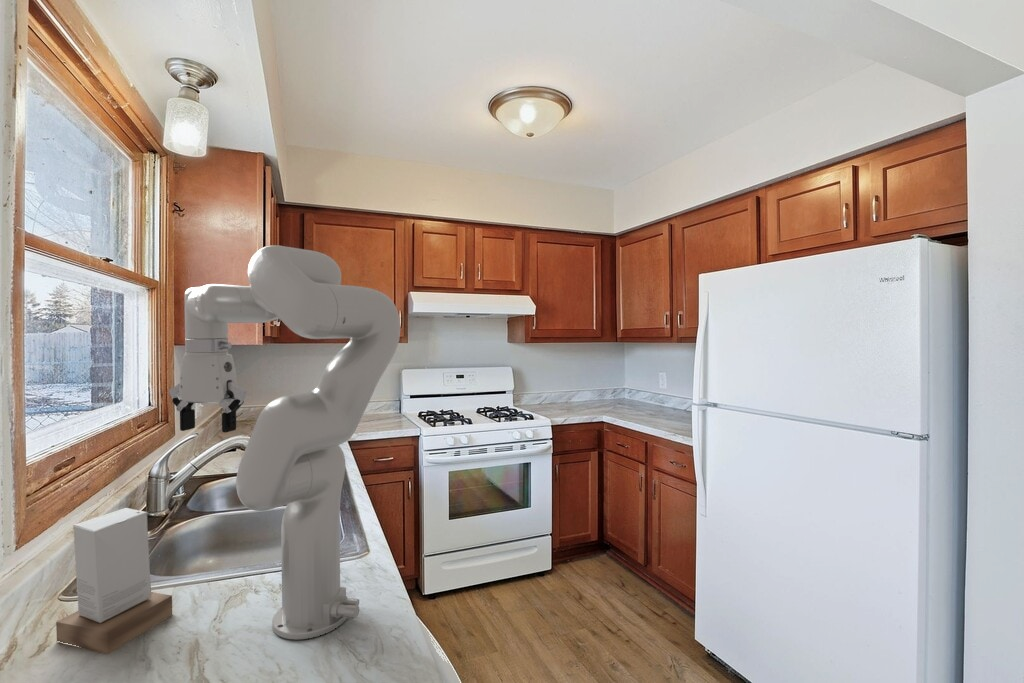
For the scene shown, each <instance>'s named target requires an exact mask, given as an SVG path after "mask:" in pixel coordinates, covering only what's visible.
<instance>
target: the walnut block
mask: <svg viewBox="0 0 1024 683" xmlns="http://www.w3.org/2000/svg"><path fill="white" fill-rule="evenodd" d="M172 616H173V595H171V594H165V593H159V592H152V591H151V598H149V599H147V600H145V601H143V602H141V603H139V604H137V605H135V606H133V607H131V608H129V609H127V610H125V611H123V612H121V613H119V614H117V615H115V616H113V617H111V618H109V619H107V620H105V621H103V622H102V623H99V622H96V621H93V620H91V619H88V618H85V617H82V616H80V615H79V614H78V610H77V611H75V612H73V613H71V614H69V615H67V616H65V617H63V618H61V619H59V620H56V623H55V624H56V630H55V631H56V642H57V641H60V642H63V643H68V644H72V645H76V646H79V647H81V648H80V649H83V648H84V649H83V650H88V651H92V652H97V653H102V654H106V655H109V654H110V653H113V652H114V651H116V650H117V649H119V648H120V647H122V646H123V645H125V644H127V643H128V642H130V641H132V640H133V639H135V638H136V637H137V638H138V636H140V635H142V634H144V633H146V632H147V631H149V630H150V629H151V628H153V627H155V626H156V625H158V624H160V623H161V622H163V621H165V620H166V619H168V618H170V617H172Z"/></svg>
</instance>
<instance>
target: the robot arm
mask: <svg viewBox="0 0 1024 683" xmlns="http://www.w3.org/2000/svg"><path fill="white" fill-rule="evenodd" d="M247 277H248V282H249V286H247V285H246V286H245V285H237V284H236V285H234V284H222V283H221V284H219V283H218V284H217V283H210V284H209V283H208V284H205V285H202V286H195V287H189V288H187V289H186V290H185V292H184V333H185V334H184V338H185V340H184V343H185V344H184V345H185V346H184V349H185V350H184V351H185V352H184V354H183V355H182V356H183V357H182V361H181V366H180V374H179V383H177V385H174V386H173V387H171V388H169V389H168V393H169V395H170V397H171V399H172V403H173V405H174V406H176V411H177V412H179V429H180V431H182V432H185V431H188V430H193V429H195V427H196V410H195V409H194V408H193V407H194V406H195V405H196V404H219V406H220V407H221V409H222V410H223V411H224V412H222V413H221V432H222V433H225V434H226V433H229V432H232V431H236V429H237V412H238V411H239V410H240V408H241V406H243V404H244V402H245V399H246V396H247V395H248V390H247V389H245V388H243V387H241V385H238V380H237V372H236V367H235V366H236V364H235V362H234V361H235V360H234V357H233V355H232V353H229V350H230V349H232V342H229V339H228V338H229V324H262V323H268V322H272V321H276V320H280V321H282V323H283V324H284V325H285V326H286V327H287V328H288V329H289V330H290V331H291V332H293V333H294V334H296V335H298V336H299V337H302V338H304V339H311V340H322V339H323V340H327V339H329V340H330V339H334V340H336V339H341V340H342V339H349V341H348V342H347V343H346V344H345V345H344V346H343V347H342V348H341V349H340V350H339V351H337V353H335V355H333V357H332V358H331V359H330V360H329V362H328V363H327V365H326V367H325V369H324V371H323V374H322V376H321V378H320V380H319V382H318V384H317V385H316V387H315V388H314V389H312V390H310V391H308V392H302V393H294V394H289V395H288V394H287V395H284V396H279V397H277V398H275V399H273V400H271V401H270V402H269V403H268V404H267V405H266V406H264V408H263V409H262V410H261V411H260V413H259V415H258V416H257V420H256V422H255V424H254V427H253V429H252V431H251V434H250V436H249V438H248V442H247V444H246V447H245V449H244V452H243V454H242V457H241V459H240V462H239V465H238V468H237V473H236V480H235V482H236V483H235V487H236V488H235V489H236V493H237V496H238V499H239V500H240V502H241V504H242V505H243V506H244V507H246V508H247V509H249V510H252V511H256V512H264V511H271V510H273V509H277V508H280V507H282V506H286V507H285V509H284V512H283V515H282V521H281V528H280V530H281V532H280V533H281V536H280V537H281V538H280V540H281V550H280V551H281V553H280V554H281V608H279V609H278V610H277V611H276V612H275V614H274V615H273V618H272V624H271V625H272V627H271V628H272V631H273V632H274V634H276V635H277V636H278V637H281V638H283V639H286V640H296V641H298V640H307V639H308V638H309V639H313V637H314V638H316V637H317V638H318V637H321V636H323V635H326V634H328V633H330V632H332V631H334V630H336V629H337V628H339V627H340V626H341V625H342V624H343V623H345V621H346V620H347V619H357V617H358V616H359V613H360V606H359V605H360V599H359V598H349V597H348V596H347V587H343V586H342V587H341V537H340V536H341V535H340V534H341V499H342V489H343V483H344V479H345V475H346V474H345V473H346V458H345V457H346V456H345V454H344V451H343V449H342V447H341V446H340V445H341V444H344V443H346V442H348V441H349V440H350V439H351V438H352V436H353V435H354V434H355V432H356V431H357V428H358V426H359V424H360V422H361V419H362V418H363V415H364V413H365V411H366V409H367V407H368V406H369V403H370V401H371V398H372V396H373V393H374V391H375V389H376V387H377V385H378V383H379V381H380V380H381V378H382V377H383V374H384V373H385V371H386V370H387V368H388V366H389V364H390V363H391V361H392V359H393V357H394V355H395V353H396V351H397V348H398V345H399V343H400V337H401V320H400V314H399V311H398V309H397V307H396V306H397V305H395V303H394V301H393V300H392V299H391V298H390V297H389V296H388V295H387V294H385V293H384V292H381V291H379V290H377V289H374V288H370V287H365V286H360V285H359V286H358V285H349V284H348V285H347V284H342V270H341V268H340V266H339V264H338V263H337V262H336V261H335V260H334V259H333V258H332V257H330V256H329V255H327V254H325V253H322V252H319V251H315V250H310V249H304V248H298V247H292V246H291V247H290V246H284V245H279V244H277V245H275V244H273V245H267V246H264V247H262V248H260V249H259V250H257V251H256V252H255V253H254V254H253V255H252V257H251V258H250V261H249V263H248V267H247ZM338 626H339V627H338ZM335 628H336V629H335ZM325 633H326V634H325ZM320 635H321V636H320Z"/></svg>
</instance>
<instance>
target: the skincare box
mask: <svg viewBox="0 0 1024 683" xmlns="http://www.w3.org/2000/svg"><path fill="white" fill-rule="evenodd" d="M72 526H73V540H74V541H73V542H74V557H75V572H76V573H75V574H76V575H75V576H76V591H77V592H76V593H77V607H78V608H77V609H78V610H77V611H78V614H79V615H80V616H82V617H85V618H88V619H91V620H93V621H96V622H99V623H102V622H103V621H105V620H107V619H109V618H111V617H113V616H115V615H117V614H119V613H121V612H123V611H125V610H127V609H129V608H131V607H133V606H135V605H137V604H139V603H141V602H143V601H145V600H147V599H149V598H151V592H152V586H151V584H152V582H151V568H150V567H151V566H150V550H149V548H150V547H149V530H148V529H149V528H148V512H147V511H143V510H138V509H134V508H129V507H124V508H120V509H117V510H115V511H112V512H109V513H106V514H103V515H99V516H96V517H94V518H90V519H88V520H84V521H82V522H78V523H74V524H73V525H72Z"/></svg>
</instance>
